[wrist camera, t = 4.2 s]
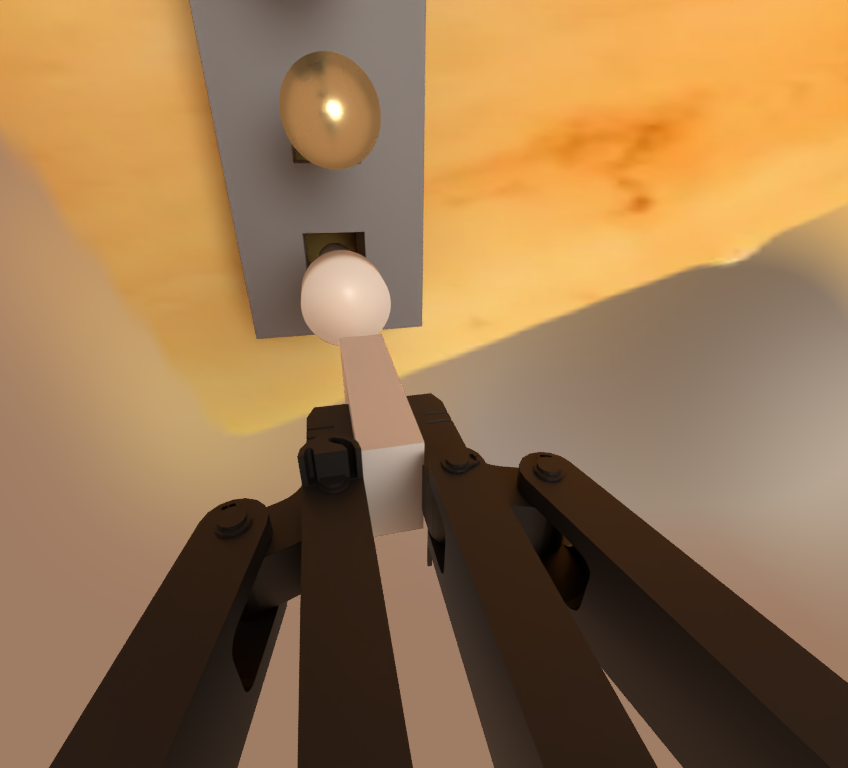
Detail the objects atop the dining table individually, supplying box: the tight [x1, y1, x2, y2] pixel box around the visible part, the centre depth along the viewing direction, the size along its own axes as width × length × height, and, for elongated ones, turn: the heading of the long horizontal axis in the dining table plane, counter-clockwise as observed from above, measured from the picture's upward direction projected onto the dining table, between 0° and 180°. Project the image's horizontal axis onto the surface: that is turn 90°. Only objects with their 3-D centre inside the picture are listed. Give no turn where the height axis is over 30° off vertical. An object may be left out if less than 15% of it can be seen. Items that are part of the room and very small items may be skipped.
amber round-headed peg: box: [279, 51, 381, 170], centre depth 21 cm, size 4×4×10 cm
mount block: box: [189, 0, 426, 339], centre depth 27 cm, size 12×26×7 cm, turn 179°
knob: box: [301, 243, 391, 346], centre depth 25 cm, size 4×4×10 cm
